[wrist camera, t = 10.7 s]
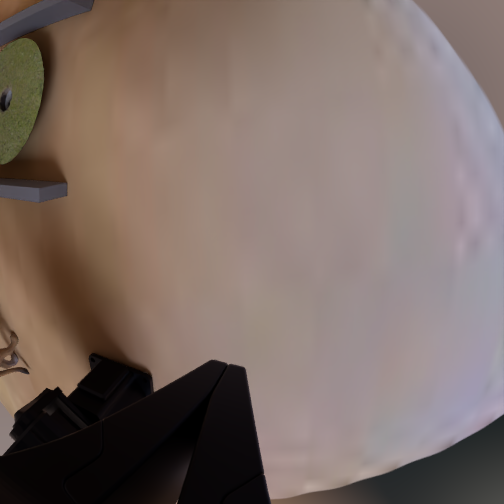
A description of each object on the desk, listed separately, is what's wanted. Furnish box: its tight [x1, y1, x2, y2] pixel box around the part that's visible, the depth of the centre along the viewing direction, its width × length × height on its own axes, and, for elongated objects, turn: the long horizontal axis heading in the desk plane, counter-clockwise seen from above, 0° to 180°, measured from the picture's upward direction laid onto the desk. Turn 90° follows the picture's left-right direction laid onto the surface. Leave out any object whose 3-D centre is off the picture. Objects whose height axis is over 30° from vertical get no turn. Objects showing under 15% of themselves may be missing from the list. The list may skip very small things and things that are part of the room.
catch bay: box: [0, 0, 94, 203], centre depth 18 cm, size 16×16×3 cm
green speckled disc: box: [0, 38, 44, 164], centre depth 19 cm, size 11×11×2 cm
